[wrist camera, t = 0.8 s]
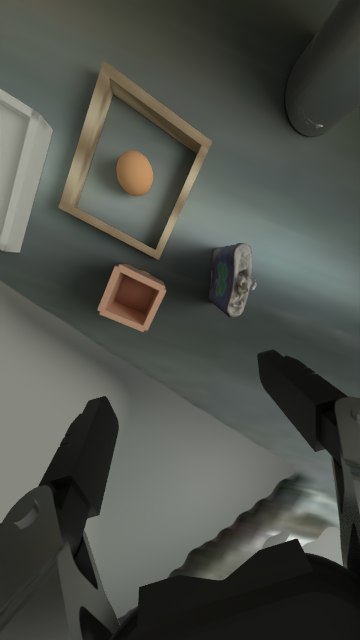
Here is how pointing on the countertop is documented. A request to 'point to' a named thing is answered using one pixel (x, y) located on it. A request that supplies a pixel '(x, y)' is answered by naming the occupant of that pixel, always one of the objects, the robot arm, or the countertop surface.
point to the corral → (99, 105)
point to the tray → (19, 167)
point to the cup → (132, 297)
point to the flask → (231, 278)
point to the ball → (134, 173)
